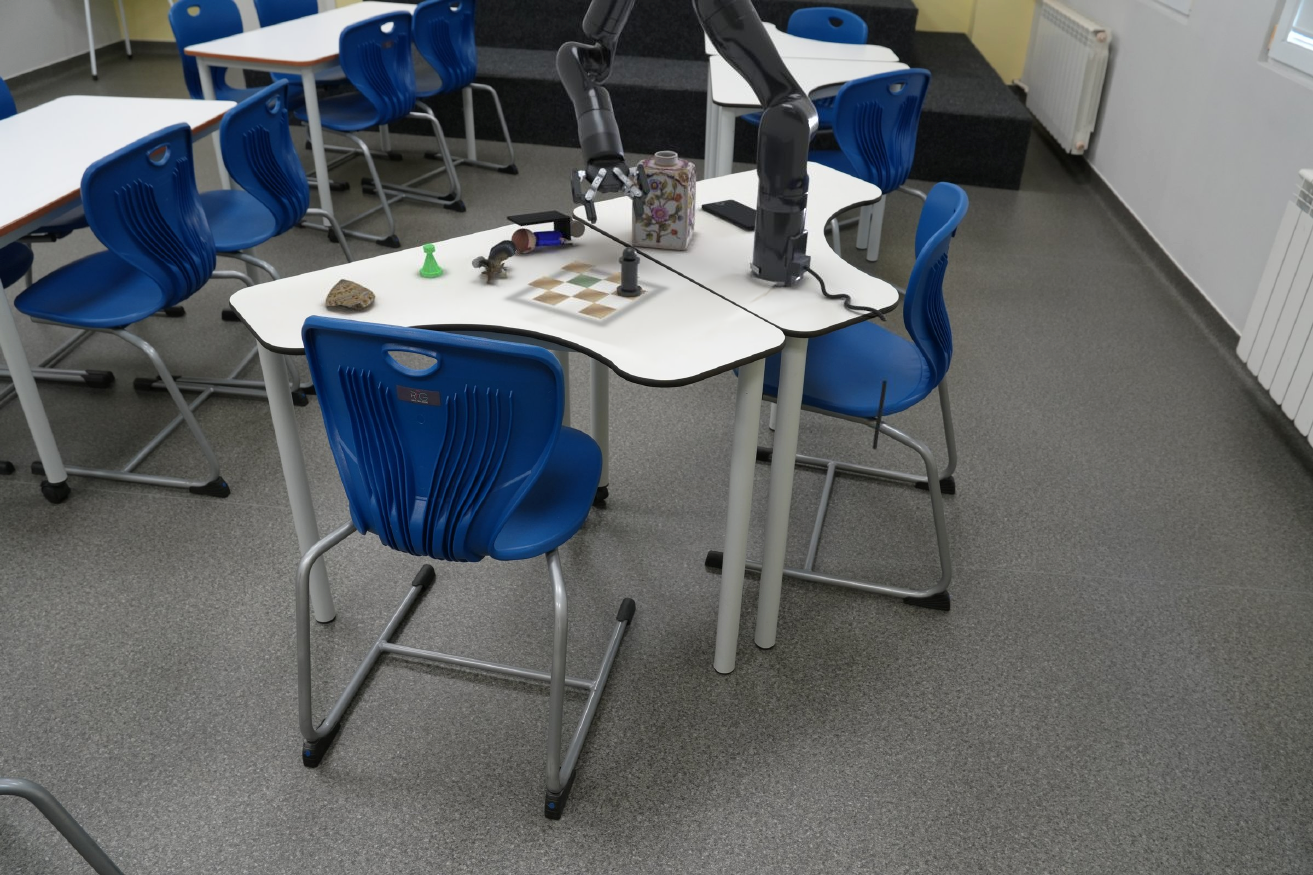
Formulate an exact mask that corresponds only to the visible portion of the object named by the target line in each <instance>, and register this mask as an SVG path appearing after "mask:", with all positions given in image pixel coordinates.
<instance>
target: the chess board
mask: <svg viewBox="0 0 1313 875" xmlns="http://www.w3.org/2000/svg"><path fill="white" fill-rule="evenodd" d="M596 267H597V266H596V265H593V264H589V263H586V262H581V261H577V260H575V261H572V262H570V263H568V264H566V265H564V266H562V267H560V270H564V271H567V272H568V271H569V272H572V273H576V274H578V275H577V276H575V277H573V278H571V279H569V280H567V281H566V283H568V284H571V285H575V286H577V287H578V286H579V287H582V288H585V289H583V290H581V291H579V292H577V293H576V294H574V295H572V296H570V295H567V294H563V293H560V292H556V291H553V289H554V288H557V287H558V286H561V285H562V284H564V283H565V281H563V280H559V279H555V278H551V277H548V276H544V275H543V276H542V277H539V278H538V279H536V280H533V281H531V282H530V283H528V284H527V285H528V286H532V287H536V288H539V289H542V290H546V292H543V293H541V294H539V295H537V296H535V297H534V298H532V300H534V301H537V302H540V303H544V304H547V305H551V306H557V305H558V304H560V303H562V302H564V301H566V300H568V299H569V298H571V297H572V298H575V299H578V300H583V301H586V302H590V303H591V304H589V305H588V306H586V307H584V308H582V309H580V310H579V311H578V313H580V314H582V315H583V314H584V315H586V316H590V317H594V318H597V319H601V320H602V319H603V318H605V317H607V316H609V315H611V314H612V313H614V312H616V311H617V310H618V308H614V307H611V306H607V305H604V304H600V303H597V302H599V301H600V300H602V299H604V298H606V297H608V296H609V295H613V296H616V297H620V298H624V299H628V300H631V301H634V300H636V299H638V298H640V297H641V296H644V295H645V294H646V293H648V292H649V290H646V289H645V290H644V289H642V294H641V295H639V296H636V297H623V296H620V295H618V294H617V289H616V290H615V291H613V292H610V293H608V292H604V291H601V290H598V289H593V288H590V287H592V286H594V285H596V284H597V283H599V282H602V281H606V282H610V283H615V284H619V285H621V271H617V272H615V273H613V274H611V275H609V276H607V277H606V278H603V279H602V278H598V277H594V276H590V275H587V274H585V273H586V272H588V271H590V270H593V269H594V268H596ZM640 278H641V277H640V276H638V279H640Z"/></svg>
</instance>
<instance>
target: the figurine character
mask: <svg viewBox="0 0 1313 875" xmlns="http://www.w3.org/2000/svg"><path fill="white" fill-rule="evenodd" d="M506 220H507V221H509V222H511V223H513V224H515V225H517V226H519V227H525V228H518V229H517V230H515V231H514V232H513V234H512V235H511V238H510V241H511V240H512V242H514V243H515V246H516V247H517V248H516V252H518V253H520V254H528V253H530V252H532V251H533V250H534V249H535V247H536V248H542V247H553V246H561V247H567V246H573V245H574V243H573V242H570V241H572V238H574V239H577V238H581V237H582V236H583V235H585V231H586V225H585V223H584V222H582V221H581V220H578V219H573V217H572V216H570V215H569V214H566V213H562V212H560V211H558V210H555V209H554V210H548V211H540V212H531V213H523V214H514V215H507V216H506ZM550 223H553V230H540V231H532V230H530V229H528V228H526V227H527V226H536V225H543V224H550ZM567 241H569V242H567ZM565 242H566V243H565Z"/></svg>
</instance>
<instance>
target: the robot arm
mask: <svg viewBox="0 0 1313 875" xmlns="http://www.w3.org/2000/svg"><path fill="white" fill-rule="evenodd" d="M690 1H691V6H692V9H693V12H694V14H695V17H696V19H697V21H698V23H699V25H700V26H701V28H702V30H703V31H704V34H705V35H706V37H707V38H708V40H709V41H710V43H711V45H712V46H713V48H714V49H715V51H716V52H717V54H719V55H720V56H721V58H722V59H723V60H724V61H725V63H727V64H728V65H729V66H730V67H731V68H732V69H733V70H734V71H735V72H736V73H738V74H739V76H740V77H741V78H742V79H743V80H744V81H745V82H746V84H748V85H749V87H750V89H751V90H752V92H753V93H754V95H755V96H756V98H757V100H758V102H759V104H760V105H761V107H762V110H763V114H762V116H761V118H760V121H759V124H758V133H757V145H756V146H757V148H756V149H757V150H756V175H757V180H758V181H757V197H756V208H755V210H756V220H755V230H754V233H753V245H752V246H753V248H752V260H751V262H750V263H749V269H750V277H751V278H755V279H760V280H763V281H766V282H772V283H774V284H773V287H788V288H791V287H792V286H794V285H795V284H797V283H798V282H800V281H801V280H802V279H803V278H804V276H805V274H806V273H807V272H808V274H810V275H812V276H813V277H814V278H815V279H816V281H818V283H819V285H820V290H821V293H822V295H823V296H824V297H825V298H827V299H830V300H836V299H837V300H838V299H845V300H844V301H843V305H844V307H845V308H846V309H848V310H851V311H862V312H869V313H873V314H874V315H876V316H877V317H878V318H879V320H880V321H881V322H887V319H886V317H885V316H884V314H883V313H882V312H881V311H880V310H879V309H876V308H875V307H871V306H864V305H853V304H850V302H851V300H852V297H851V296H850V295H849V294H847V293H838V294H837V293H836V294H831V293H829V292H828V291H827V289H826V284H825V281H824V280H823V278H822V277H821V276H820V275H819V274H818V273H817V272H816V271H815V270H813V269H812V268H811V261H812V255H807V247H808V245H807V244H808V236H809V230H808V229H805V228H806V227H805V226H806V216H807V206H808V196H809V189H810V175H809V173H808V159H809V158H808V157H809V149H810V148H809V147H810V142H811V141H812V140H813V139H814V138H815V136H816V134H817V132H818V130H819V122H820V121H819V114H818V111H817V108H816V106H815V104H814V103H813V101H812V100H811V98H809V96H808V95H807V93H806V92H805V91H804V89H803V88H802V86H801V85H800V84H799V82H798V81H797V80H796V79H795V77H794V76H793V74H792V72H791V71H790V70H789V68H788V67H787V66H786V63H785V62H784V61H783V59H782V56H781V54H780V53H779V51H778V49H777V47H776V45H775V42H774V41H773V39H772V38H771V36H770V34H769V32H768V31H767V28H766V26H765V25H764V23H763V21H762V20H761V18H760V16H759V13H758V12H757V10H756V8H755V7H754V5H753V3H752V1H751V0H690ZM635 2H636V0H591V3H590V4H589V7H588V9H587V11H586V14H585V15H584V17H583V21H582V30H583V32H584V34H585V35H586V37H588V38H589V39H591V40H592V41H593V42H595V45H591V44H586V43H581V42H576V41H566V42H564V43H563V44H562V45H561V46H560V48H559V49H558V51H557V54H556V59H555V65H556V72H557V75H558V77H559V78H558V79H559V80H560V82H561V84H562V86H563V88H564V90H565V92H566V94H567V96H568V98H569V99H570V101H571V103H572V105H573V107H574V113H575V118H576V123H577V134H578V142H579V145H580V149H581V154H582V159H583V164H584V169H585V170H579V169H578V168H576V167H573V168H572V169H571V172H570V174H569V181H570V182H569V183H570V189H571V197H572V202H573V204H575V205H578V204H579V205H583V207H584V211H585V216H586V220H587V221H588V222H590V224H591V225H595V224H596V223H597V221H598V216H597V211H596V206H595V202H594V198H595V196H596V195H597V193H598V192H599V193H601V194H607V193H614V194H615V193H619V192H620V193H621V194H623V195H624V196H625V197H628V198H629V199H630V200H631V205H632V204H633V209H634V213H635V218H636V221H639V220H641V218H642V217H643V215H644V207H643V202H642V199H647V197H648V194H649V193H650V187H649V183H648V180H647V176H646V173H645V169H644V166H643V165H642V164H639V165H638V166H637V165H636V166H637V167H636V166H634V167H629V166H628V165H627V163H626V158H625V153H624V149H623V148H624V147H623V144H622V140H621V139H622V138H621V134H620V130H619V126H618V123H617V121H616V118H615V113H614V109H613V105H612V104H613V103H612V100H611V96H610V93H609V91H608V90H607V89H606V88H605V87H604V86H602V85H603V84H605V83H606V82H607V81H608V80H609V79H610V77H611V74H612V71H613V66H614V61H615V55H616V51H617V45H618V41H619V37H620V35H621V33H622V31H623V29H624V27H625V25H626V23H627V21H628V19H629V17H630V14H631V12H632V9H633V7H634V4H635ZM629 176H632V179H633V178H634V179H635V180H637V183H638V187H639V190H638V189H637V188H636V187H635V186H634V184H633V180H631V179H630V178H629ZM583 179H585V180H586V181H587V182H588V183H589V184H590V186H589V188H588V191H587V193H586V194H584V193H582V187H581V183H582V182H583ZM632 201H633V203H632ZM887 384H888V381H887V380H882V382H881V392H880V399H879V404H878V408H877V416H876V422H875V428H874V435H873V441H872V449H873V450H877V449H878V442H879V436H880V435H879V434H880V428H881V423H882V416H883V410H884V405H885V399H886V391H887Z"/></svg>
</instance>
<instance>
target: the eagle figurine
mask: <svg viewBox="0 0 1313 875" xmlns="http://www.w3.org/2000/svg"><path fill="white" fill-rule="evenodd" d="M516 248H517V247H516V246H515V243H514V242H512V240H511V239H504V240H502V241H500V242H498V243H496V244H495V245H493V246H491V248H490V251H489V253H488V257H487V258H485V257H484V256H483V255H480V256H477V257H475V258H474V259H472V261H471V265H472V267H473V268H474V269H481V268H482V267H483V268H484V269H485V270H486V271H481V274H482V275H485V276H486V277H487V280H486V283H487V284H488V285H489V283H490V282H491V281H492V280H493V279H494V276H495V274H499V275H501V276H504V277H505V278H506V279H508V275H507V271H505V270H504V269H508V266H505V264H506V263H505V262H504V261H506V260H508V259H509V258H512V257H514V256H515V255H516V252H517V251H516Z"/></svg>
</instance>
